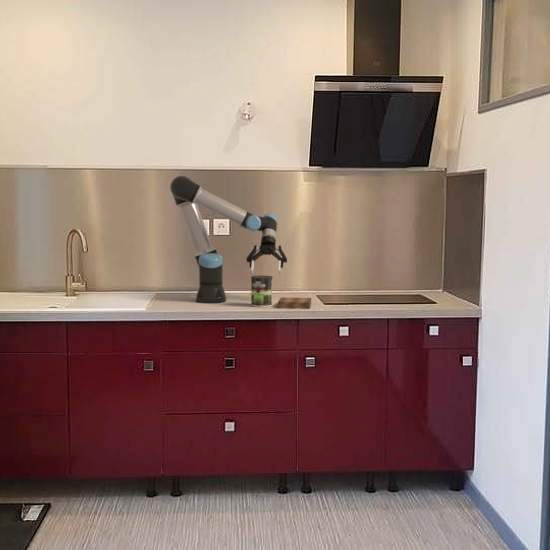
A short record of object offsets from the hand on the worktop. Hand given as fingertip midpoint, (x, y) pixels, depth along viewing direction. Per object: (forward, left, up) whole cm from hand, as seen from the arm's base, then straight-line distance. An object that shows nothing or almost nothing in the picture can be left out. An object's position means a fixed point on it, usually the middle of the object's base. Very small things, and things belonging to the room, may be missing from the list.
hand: (265, 272), depth 356 cm
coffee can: (-1, -10, -15) cm, 18 cm away
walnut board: (+15, -10, -15) cm, 24 cm away
